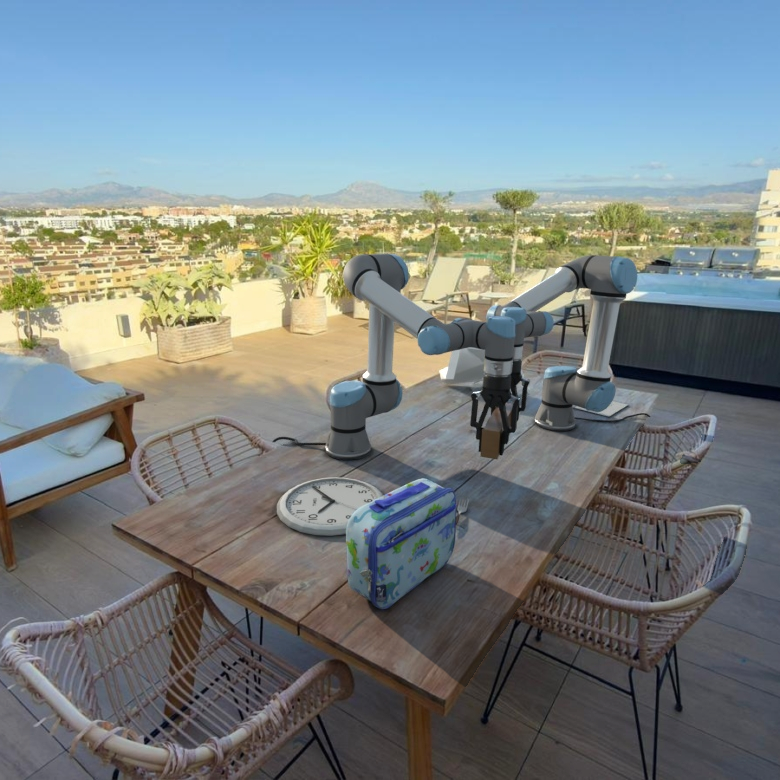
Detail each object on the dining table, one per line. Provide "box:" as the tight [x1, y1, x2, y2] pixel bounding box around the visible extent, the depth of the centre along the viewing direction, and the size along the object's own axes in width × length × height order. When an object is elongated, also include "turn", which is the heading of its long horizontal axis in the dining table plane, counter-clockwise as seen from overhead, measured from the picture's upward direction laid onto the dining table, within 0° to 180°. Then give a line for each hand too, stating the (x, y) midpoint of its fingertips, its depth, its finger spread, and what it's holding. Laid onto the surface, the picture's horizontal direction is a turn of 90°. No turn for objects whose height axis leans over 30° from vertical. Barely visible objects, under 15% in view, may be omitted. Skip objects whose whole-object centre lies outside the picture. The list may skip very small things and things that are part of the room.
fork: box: [456, 497, 470, 526], centre depth 137 cm, size 3×16×2 cm, turn 160°
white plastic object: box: [438, 347, 531, 397], centre depth 245 cm, size 37×45×31 cm
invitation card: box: [573, 400, 629, 418], centre depth 226 cm, size 21×1×15 cm
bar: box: [479, 402, 513, 460], centre depth 158 cm, size 26×5×8 cm, turn 158°
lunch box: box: [345, 477, 457, 610], centre depth 110 cm, size 26×11×21 cm, turn 134°
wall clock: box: [276, 476, 385, 537], centre depth 142 cm, size 30×2×30 cm
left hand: (491, 451), depth 150 cm, fingers open, 5 cm apart
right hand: (503, 428), depth 167 cm, fingers closed on bar, 5 cm apart
